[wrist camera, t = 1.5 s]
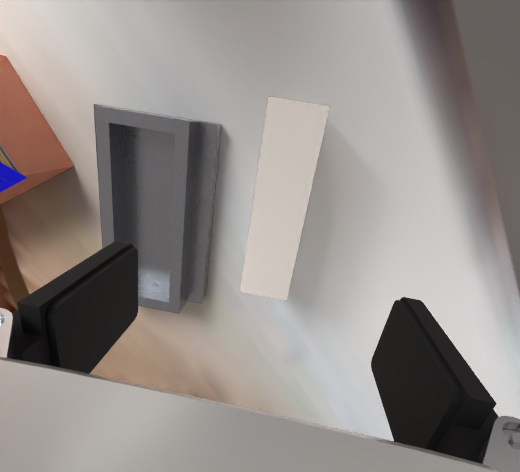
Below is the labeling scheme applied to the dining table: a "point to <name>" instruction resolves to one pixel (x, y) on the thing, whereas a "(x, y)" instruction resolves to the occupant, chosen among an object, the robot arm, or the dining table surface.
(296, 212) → the white block
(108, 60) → the dining table surface
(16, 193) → the blue shipping container
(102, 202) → the grey holder tray
